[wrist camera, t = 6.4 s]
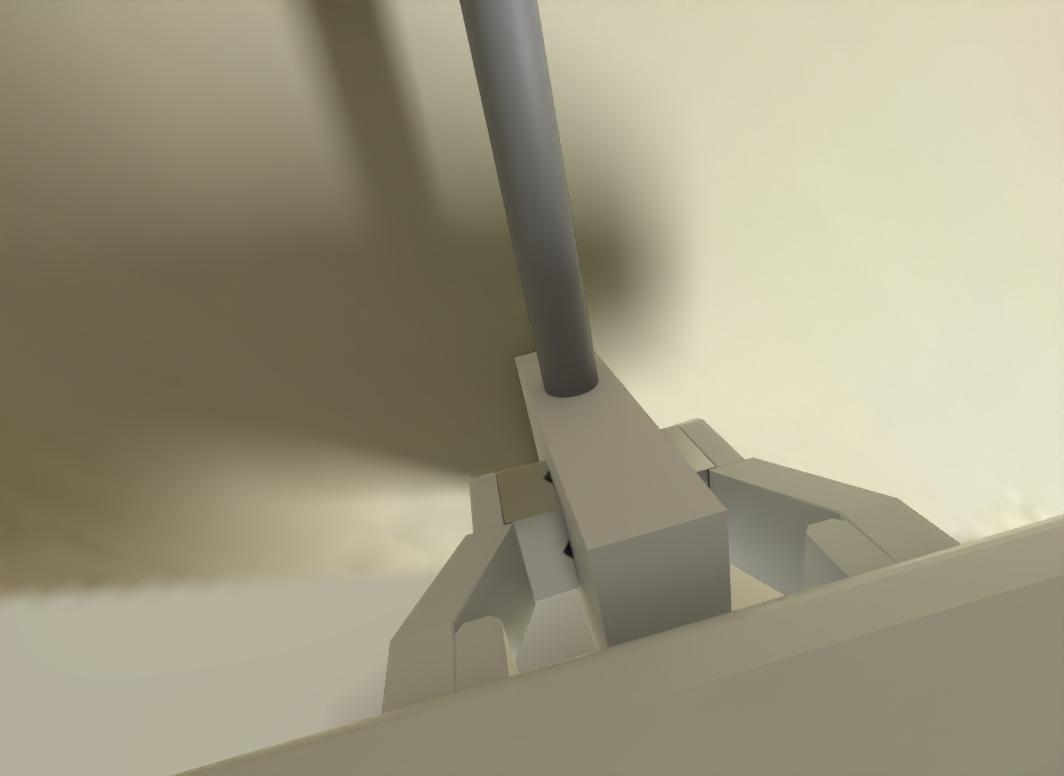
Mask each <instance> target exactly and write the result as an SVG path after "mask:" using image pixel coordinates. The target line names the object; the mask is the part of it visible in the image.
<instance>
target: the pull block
mask: <svg viewBox="0 0 1064 776" xmlns="http://www.w3.org/2000/svg"><path fill="white" fill-rule="evenodd" d="M460 4H461V9H462V14H463V18H464V23H465V27H466V32H467V37H468V41H469V46H470V50H471V55H472V59H473V64H474V69H475V73H476V78H477V82H478V87H479V92H480V96H481V101H482V105H483V110H484V115H485V119H486V124H487V128H488V133H489V137H490V142H491V147H492V151H493V156H494V160H495V165H496V170H497V174H498V179H499V183H500V188H501V193H502V197H503V202H504V206H505V211H506V216H507V220H508V225H509V229H510V234H511V238H512V243H513V248H514V252H515V257H516V261H517V266H518V271H519V275H520V280H521V284H522V289H523V294H524V298H525V303H526V307H527V312H528V316H529V321H530V326H531V330H532V335H533V339H534V344H535V349H536V352H533V353H529V354H525V355H521V356H517V357H515V361H516V366H517V370H518V374H519V378H520V382H521V386H522V391H523V395H524V399H525V403H526V407H527V411H528V416H529V420H530V424H531V428H532V432H533V436H534V441H535V445H536V449H537V453H538V457H539V461H542V460H546V462H547V465H548V468H549V471H550V476H551V480H552V483H553V484H554V485H555V488H556V491H557V494H558V496H559V499H560V502H561V505H562V508H563V512H564V517H565V521H566V525H567V530H568V534H569V538H570V540H569V542H568V543H569V546H570V549H571V552H572V555H573V558H574V562H575V567H576V571H577V576H578V581H579V586H580V587H579V588H577V590H578V593H579V596H580V599H581V602H582V605H583V609H584V612H585V615H586V618H587V621H588V624H589V627H590V631H591V634H592V637H593V640H594V643H595V646H596V649H597V651H599V650H602V649H605V648H609V647H612V646H616V645H619V644H623V643H626V642H629V641H633V640H636V639H640V638H643V637H646V636H650V635H653V634H657V633H660V632H663V631H667V630H670V629H674V628H677V627H680V626H684V625H687V624H691V623H694V622H697V621H701V620H704V619H708V618H711V617H714V616H718V615H721V614H725V613H728V612H731V589H730V563H729V537H728V511H727V509H726V508H725V507H724V505H723V504H722V503H721V502H720V501H719V499H718V498H717V497H716V496H715V495H714V493H713V492H712V491H711V490H710V489H709V487H708V486H707V485H706V484H705V483H704V481H703V480H702V479H701V478H700V477H699V475H698V474H697V473H696V472H695V471H694V469H693V468H692V467H691V466H690V465H689V463H688V462H687V461H686V460H685V459H684V457H683V456H682V455H681V454H680V453H679V451H678V450H677V449H676V448H675V447H674V445H673V444H672V443H671V442H670V441H669V440H668V438H667V437H666V436H665V435H664V434H663V432H662V431H661V430H660V429H659V428H658V426H657V425H656V424H655V423H654V422H653V420H652V419H651V418H650V417H649V416H648V414H647V413H646V412H645V411H644V410H643V408H642V407H641V406H640V405H639V404H638V402H637V401H636V400H635V399H634V398H633V396H632V395H631V394H630V393H629V392H628V390H627V389H626V388H625V387H624V386H623V384H622V383H621V382H620V381H619V380H618V378H617V377H616V376H615V375H614V374H613V372H612V371H611V370H610V369H609V368H608V366H607V365H606V364H605V363H604V362H603V360H602V359H601V358H600V357H599V356H598V355H597V353H596V352H595V351H594V349H593V343H592V336H591V330H590V324H589V318H588V312H587V306H586V299H585V293H584V287H583V281H582V275H581V268H580V262H579V256H578V250H577V244H576V238H575V231H574V225H573V219H572V213H571V207H570V200H569V194H568V188H567V182H566V176H565V170H564V163H563V157H562V151H561V145H560V139H559V133H558V126H557V120H556V114H555V108H554V102H553V95H552V89H551V83H550V77H549V71H548V65H547V58H546V52H545V46H544V40H543V34H542V27H541V21H540V15H539V9H538V3H537V0H460Z"/></svg>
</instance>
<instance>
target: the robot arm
mask: <svg viewBox="0 0 1064 776" xmlns="http://www.w3.org/2000/svg"><path fill="white" fill-rule="evenodd" d="M660 430H661V431H662V432H663V434H664V435H665V436H666V437H667V438H668V440H669V441H670V442H671V443H672V444H673V445H674V447H675V448H676V449H677V450H678V451H679V453H680V454H681V455H682V456H683V457H684V459H685V460H686V461H687V462H688V463H689V465H690V466H691V467H692V468H693V469H694V471H695V472H696V473H697V474H698V475H699V477H700V478H701V479H702V480H703V481H704V483H705V484H706V485H707V486H708V487H709V489H710V490H711V491H712V492H713V493H714V495H715V496H716V497H717V498H718V499H719V501H720V502H721V503H722V504H723V505H724V507H725V508H726V509H727V511H728V537H729V563H731V564H732V565H734V566H736V567H737V568H739V569H741V570H742V571H744V572H746V573H747V574H749V575H751V576H753V577H754V578H756V579H758V580H759V581H761V582H763V583H764V584H766V585H768V586H770V587H771V588H773V589H775V590H776V591H778V592H780V593H782V594H783V595H785V596H783V597H779V598H776V599H772V600H769V601H766V602H762V603H759V604H755V605H752V606H749V607H745V608H742V609H738V610H735V611H732V612H728V613H725V614H721V615H718V616H714V617H711V618H708V619H704V620H701V621H697V622H694V623H691V624H687V625H684V626H680V627H677V628H674V629H670V630H667V631H663V632H660V633H657V634H653V635H650V636H646V637H643V638H640V639H636V640H633V641H629V642H626V643H623V644H619V645H616V646H612V647H609V648H605V649H602V650H599V651H595V652H592V653H588V654H585V655H582V656H579V657H575V658H571V659H568V660H565V661H561V662H558V663H555V664H551V665H547V666H544V667H541V668H538V669H534V670H530V671H527V672H524V673H520V674H519V673H518V670H517V667H516V663H515V659H516V656H517V653H518V651H519V648H520V645H521V643H522V640H523V637H524V634H525V632H526V629H527V626H528V624H529V621H530V618H531V615H532V613H533V610H534V607H535V604H536V603H535V601H537V600H541V599H544V598H547V597H550V596H553V595H557V594H559V593H563V592H566V591H569V590H572V589H576V588H579V587H580V586H579V581H578V576H577V571H576V567H575V562H574V558H573V555H572V552H571V549H570V546H569V543H568V542H569V540H570V538H569V534H568V530H567V525H566V521H565V517H564V512H563V508H562V505H561V502H560V499H559V496H558V494H557V491H556V488H555V485H554V484H553V483H552V480H551V476H550V471H549V468H548V465H547V462H546V460H542V461H538V462H534V463H530V464H526V465H522V466H518V467H514V468H509V469H505V470H501V471H497V472H496V473H495V472H492V473H489V474H485V475H481V476H478V477H474V478H471V479H470V482H469V486H470V498H471V511H472V523H473V534H470V535H466V536H465V537H464V539H463V540H462V542H461V543H460V544H459V546H458V547H457V548H456V550H455V551H454V553H453V554H452V555H451V557H450V558H449V560H448V561H447V562H446V564H445V565H444V567H443V568H442V569H441V571H440V572H439V574H438V575H437V576H436V578H435V579H434V581H433V582H432V583H431V585H430V586H429V588H428V589H427V591H426V592H425V593H424V595H423V596H422V597H421V599H420V600H419V602H418V603H417V604H416V606H415V607H414V609H413V610H412V611H411V613H410V614H409V615H408V617H407V618H406V620H405V621H404V622H403V624H402V625H401V627H400V628H399V629H398V631H397V632H396V634H395V635H394V636H393V638H392V639H391V641H390V646H389V656H388V663H387V672H386V680H385V688H384V697H383V705H382V714H380V715H377V716H373V717H370V718H366V719H363V720H360V721H356V722H353V723H349V724H346V725H343V726H339V727H336V728H332V729H329V730H325V731H322V732H319V733H315V734H312V735H308V736H305V737H302V738H298V739H295V740H291V741H288V742H284V743H281V744H278V745H274V746H271V747H267V748H264V749H261V750H257V751H254V752H250V753H247V754H243V755H240V756H237V757H233V758H230V759H226V760H223V761H220V762H216V763H213V764H209V765H206V766H202V767H199V768H196V769H192V770H189V771H185V772H182V773H178V774H175V775H172V776H1064V514H1063V515H1060V516H1056V517H1053V518H1049V519H1046V520H1043V521H1039V522H1036V523H1032V524H1029V525H1025V526H1022V527H1019V528H1015V529H1012V530H1009V531H1005V532H1002V533H998V534H995V535H992V536H988V537H985V538H982V539H978V540H975V541H971V542H968V543H965V544H960V543H958V542H957V541H956V540H954V539H953V538H951V537H950V536H949V535H947V534H946V533H945V532H943V531H942V530H940V529H939V528H938V527H936V526H935V525H934V524H932V523H931V522H929V521H928V520H927V519H925V518H924V517H923V516H921V515H920V514H918V513H917V512H916V511H914V510H913V509H911V508H910V507H909V506H907V505H906V504H905V503H903V502H902V501H900V500H899V499H898V498H894V497H891V496H887V495H884V494H880V493H877V492H873V491H869V490H866V489H862V488H859V487H855V486H852V485H848V484H845V483H841V482H837V481H834V480H830V479H827V478H823V477H820V476H816V475H813V474H809V473H806V472H802V471H798V470H795V469H791V468H788V467H784V466H781V465H777V464H774V463H770V462H767V461H763V460H759V459H756V458H750V459H746V460H745V459H744V458H743V457H742V456H741V455H740V454H739V453H738V452H737V451H736V450H735V449H733V448H732V447H731V446H730V445H729V444H728V443H727V442H726V441H725V440H724V439H723V438H722V437H721V436H720V435H719V434H717V433H716V432H715V431H714V430H713V429H712V428H711V427H710V426H709V425H708V424H707V423H706V422H705V421H704V420H703V419H699V418H696V419H693V420H690V421H686V422H683V423H680V424H676V425H674V426H671V427H667V428H664V429H660Z"/></svg>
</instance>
